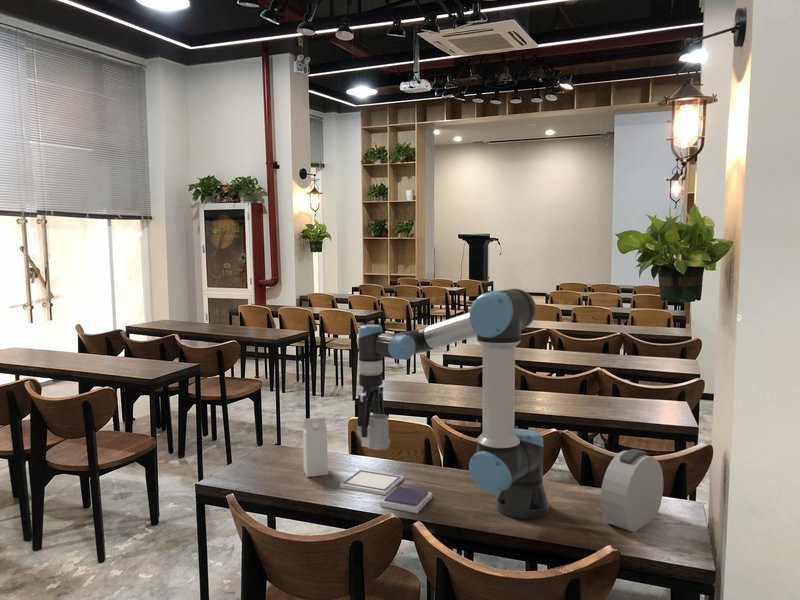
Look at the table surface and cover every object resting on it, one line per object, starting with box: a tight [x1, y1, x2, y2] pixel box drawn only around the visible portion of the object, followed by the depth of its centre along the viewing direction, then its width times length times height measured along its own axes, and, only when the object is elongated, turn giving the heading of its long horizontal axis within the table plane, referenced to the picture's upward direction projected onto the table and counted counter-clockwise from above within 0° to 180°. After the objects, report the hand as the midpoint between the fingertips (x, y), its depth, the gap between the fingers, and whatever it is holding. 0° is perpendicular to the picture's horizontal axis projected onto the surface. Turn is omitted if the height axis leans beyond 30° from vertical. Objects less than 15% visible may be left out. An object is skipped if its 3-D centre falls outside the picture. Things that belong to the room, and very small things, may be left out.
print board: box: [339, 469, 404, 496], centre depth 199 cm, size 16×14×1 cm
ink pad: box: [379, 486, 433, 514], centre depth 184 cm, size 12×12×2 cm
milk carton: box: [302, 416, 329, 478], centre depth 208 cm, size 7×7×19 cm
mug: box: [356, 413, 391, 451], centre depth 197 cm, size 8×12×12 cm, turn 61°
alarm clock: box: [600, 448, 664, 533], centre depth 170 cm, size 21×8×20 cm, turn 131°
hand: (371, 442), depth 198 cm, fingers closed on mug, 7 cm apart
